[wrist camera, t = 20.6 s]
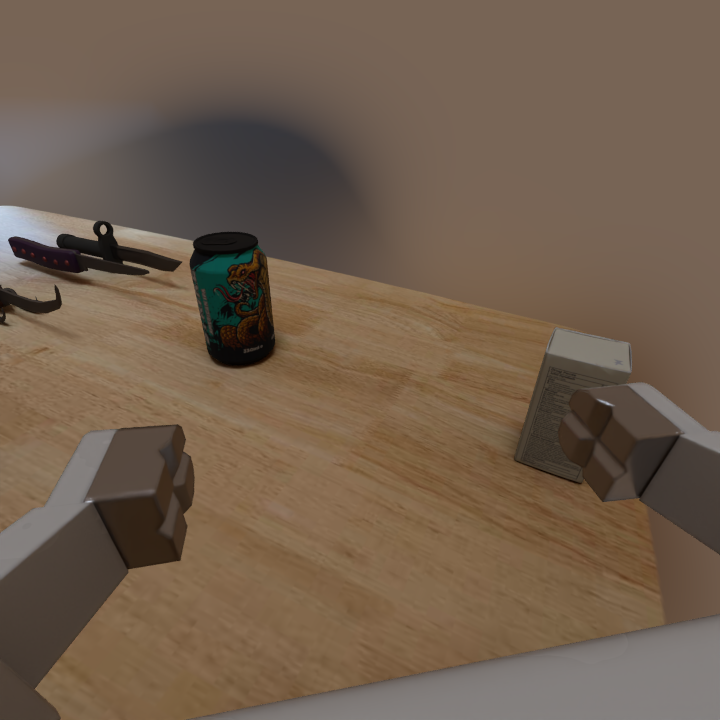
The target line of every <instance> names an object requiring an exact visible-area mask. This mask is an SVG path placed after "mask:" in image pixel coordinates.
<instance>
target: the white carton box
mask: <svg viewBox="0 0 720 720" xmlns="http://www.w3.org/2000/svg"><path fill="white" fill-rule="evenodd" d="M631 371H632V353H631V347H630V344H629V343H627V342H622V341H617V340H613V339H608V338H603V337H599V336H595V335H590V334H585V333H581V332H576V331H572V330H566V329H560V328H557V327H556V328H555V329H554V331H553V333H552V335H551V338H550V340H549V343H548V345H547V348H546V352H545V355H544V358H543V361H542V365H541V368H540V371H539V375H538V378H537V381H536V385H535V388H534V391H533V395H532V398H531V402H530V405H529V409H528V412H527V416H526V419H525V422H524V426H523V429H522V433H521V436H520V440H519V443H518V447H517V450H516V453H515V457H514V459H515V460H516V461H519V462H521V463H524V464H527V465H529V466H532V467H535V468H538V469H541V470H543V471H546V472H549V473H552V474H555V475H558V476H560V477H563V478H567V479H570V480H573V481H576V482H579V483H582V482H583V480H584V478H583V477H582V467H580V466H578V465H577V464H575V463H573V462H571V461H570V460H569V459H568V458H567V456H566V455H565V454H564V452H563V451H562V448H561V446H560V444H559V437H558V429H559V426H560V423H561V420H562V419H563V418H564V417H565V416H566V415H567V414H568V413H569V412H570V411H571V409H570V407H569V404H568V403H569V401H570V398H571V396H572V394H573V393H574V392H575V391H577V390H578V389H584V388H594V387H604V386H615V385H621V384H626V383H627V381H628V379H629V376H630V374H631Z"/></svg>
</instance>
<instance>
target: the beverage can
mask: <svg viewBox="0 0 720 720" xmlns="http://www.w3.org/2000/svg"><path fill="white" fill-rule="evenodd" d="M257 244H258V240H257V238H256V237H255V236H253V235H251V234H248V233H242V232H241V233H240V232H220V233H212V234H208V235H204V236H201V237H199V238H197V239H196V240H195V241H194V242H193V246H194V248H195V250H194V252H193V254H192V256H191V259H190V269H191V274H192V278H193V283H194V288H195V293H196V297H197V302H198V307H199V311H200V316H201V321H202V326H203V330H204V335H205V340H206V345H207V349H208V352H209V354H210V355H211V356H212V357H213V358H215V359H217V360H218V361H220V362H222V363H225V364H229V365H246V364H251V363H254V362H257V361H259V360H261V359H263V358H264V357H266V356H267V355H268V354H269V352H270V351H271V350H272V349H273V347H274V345H275V335H274V326H273V316H272V306H271V296H270V286H269V277H268V267H267V258H266V256H265V254H264V253H263V251H262V250H261V249H260V247H259V246H258V245H257Z"/></svg>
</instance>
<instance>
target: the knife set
mask: <svg viewBox="0 0 720 720" xmlns="http://www.w3.org/2000/svg"><path fill="white" fill-rule="evenodd" d="M103 224H104V225H105V226H106V228H107V232H106V234H104V235H102V234H101V232H100V227H101V225H103ZM93 230H94V233H95V234H96V235H97V236H98V241H94V240H89V239H84V238H79V237H75V236H73V235H69V234H61V235H59V236H58V237H57V240H56V241H57V245H58V247H59V248H56V247H49V246H46V245H43V244H40V243H37V242H35V241H31V240H28V239H25V238H21V237H11V238H9V239H8V241H9V244H10V246H11V248H12V250H13V253H14V255H15V256H16V257H18V258H22V259H25V260H28V261H31V262H34V263H36V264H39V265H41V266H44V267H47V268H51V269H56V270H61V271H67V272H73V273H80V272H83V271H88V268H91V269H96V270H100V271H106V272H112V273H118V274H127V275H145V274H148V273H149V271H148V270H145V269H141V268H137V267H132V266H128V265H124V264H123V261H127V262H132V263H136V264H141V265H144V266H148V267H151V268H155V269H158V270H162V271H171V272H174V271H175V269H176V268H177V267H178V266H179V265H180V264H181V263H182V261H178V260H174V259H171V258H167V257H164V256H161V255H158V254H155V253H152V252H149V251H145V250H140V249H135V248H130V247H124V246H119V245H118V243H117V241H116V240H115V238H114V236H113V227H112V226H111V224H109V223H108V222H105V221H98V222H96V223H95V224H94V226H93ZM80 253H83V254H88V255H92V256H97V257H101V258H103V260H101V259H97V258H92V257H88V256H84V255H81V254H80ZM55 293H56V300H52V301H46V302H42V301H38V300H37V298H36V300H32V299H28V298H25V297H22V296H19V295H17V293H16V292H15V291H14V290H13V289H10V288H4V289H2V287H1V285H0V308H2V307H5V306H8V305H10V304H12V305H15V306H17V307H20V308H22V309H26V310H29V311H32V312H37V313H49V312H52V311H54V310H57V309H60V307H61V305H62V301H61V296H60V293H59V289H58V288H57V286H56V285H55ZM35 297H36V296H35ZM2 312H3V316H2V317H0V322H4V321H5V319H6V315H5V313H4V311H3V309H2Z"/></svg>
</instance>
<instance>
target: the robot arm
mask: <svg viewBox="0 0 720 720" xmlns="http://www.w3.org/2000/svg"><path fill="white" fill-rule="evenodd" d="M568 404H569V407H570V409H571V411H570V412H569V413H568V414H567V415H566V416H565V417H564V418H563V419H562V420H561V423H560V426H559V429H558V437H559V444H560V446H561V448H562V451H563V452H564V454H565V455H566V456H567V458H568V459H569V460H570V461H571V462H573V463H575V464H577V465H578V466H580V467H582V477H583V478H584V479H585V481H586V482H587V483H588V484H589V486H590V487H591V488H592V489H593V491H594V492H595V493H596V494H597V496H598V497H599V498H600V500H601V501H602V502H607V501H616V500H626V499H635V498H640V499H639V500H640V501H641V502H643V503H644V504H646V505H647V506H649V507H650V508H652V509H653V510H655V511H656V512H658V513H659V514H660V515H662V516H664V517H665V518H666V519H668V520H669V521H671V522H672V523H674V524H675V525H677V526H678V527H680V528H681V529H683V530H684V531H685V532H687V533H688V534H690V535H692V536H693V537H694V538H696V539H697V540H699V541H700V542H702V543H703V544H705V545H706V546H708V547H709V548H711V549H712V550H714V551H715V552H717V553H718V554H719V555H720V433H719V432H717V431H712V432H710V431H708V430H707V429H706V428H705V427H703V426H702V425H701V424H699V423H698V422H697V421H696V420H694V419H693V418H692V417H690V416H689V415H688V414H687V413H686V412H684V411H683V410H682V409H680V408H679V407H678V406H677V405H675V404H674V403H673V402H672V401H670V400H669V399H668V398H666V397H665V396H664V395H663V394H661V393H660V392H659V391H658V390H656V389H655V388H654V387H653V386H651V385H649V384H646V383H643V382H639V383H631V384H621V385H615V386H604V387H594V388H584V389H578V390H577V391H575V392H574V393H573V394H572V396H571V398H570V401H569V403H568ZM185 441H186V439H185V436H184V432H183V429H182V427H181V426H179V425H178V424H177V425H162V426H147V427H132V428H121V429H110V430H95V431H90V432H88V433H87V434H85V435H84V436H83V437H82V439H81V441H80V443H79V445H78V446H77V448H76V450H75V452H74V453H73V455H72V457H71V459H70V461H69V462H68V464H67V466H66V468H65V470H64V471H63V473H62V475H61V477H60V479H59V480H58V482H57V484H56V486H55V488H54V489H53V491H52V493H51V495H50V497H49V498H48V500H47V502H46V504H45V506H44V507H41V508H34V509H32V510H31V511H29V512H28V513H27V514H25V515H24V516H22V517H21V518H20V519H18V520H17V521H16V522H14V523H13V524H12V525H10V526H9V527H8V528H6V529H5V530H4V531H2V532H1V533H0V720H60V719H61V717H60V715H59V713H58V712H57V710H56V708H55V707H54V706H52V705H51V704H50V703H49V702H48V701H47V700H46V699H45V698H44V697H43V696H41V695H40V694H39V693H38V692H37V691H36V690H35V688H36V686H37V685H38V684H39V683H40V681H41V680H42V679H43V678H44V676H45V675H46V674H47V673H48V672H49V670H50V669H51V668H52V667H53V665H54V664H55V663H56V662H57V660H58V659H59V658H60V657H61V655H62V654H63V653H64V652H65V650H66V649H67V648H68V647H69V645H70V644H71V643H72V642H73V641H74V639H75V638H76V637H77V636H78V634H79V633H80V632H81V631H82V629H83V628H84V627H85V626H86V624H87V623H88V622H89V621H90V619H91V618H92V617H93V616H94V615H95V613H96V612H97V611H98V610H99V608H100V607H101V606H102V605H103V603H104V602H105V601H106V600H107V598H108V597H109V596H110V595H111V593H112V592H113V591H114V590H115V588H116V587H117V586H118V585H119V584H120V582H121V581H122V580H123V579H124V577H125V576H126V575H127V574H128V569H133V568H139V567H145V566H151V565H157V564H163V563H169V562H175V561H180V560H181V555H182V550H183V545H184V541H185V536H186V531H187V524H186V521H185V518H184V515H183V514H184V513H185V512H186V511H187V510H188V509H189V508H190V507H191V506H192V501H193V495H194V478H195V477H194V469H193V463H192V460H191V456H189V455H188V454H186V453H185V452H183V449H184V445H185ZM186 720H720V614H717V615H712V616H707V617H702V618H697V619H692V620H687V621H682V622H677V623H672V624H667V625H661V626H656V627H651V628H646V629H641V630H636V631H631V632H626V633H621V634H616V635H611V636H606V637H601V638H596V639H591V640H586V641H581V642H575V643H570V644H565V645H560V646H555V647H550V648H545V649H540V650H535V651H530V652H525V653H520V654H515V655H510V656H505V657H500V658H494V659H489V660H484V661H479V662H474V663H469V664H464V665H459V666H454V667H449V668H444V669H439V670H434V671H429V672H424V673H419V674H414V675H408V676H403V677H398V678H393V679H388V680H383V681H378V682H373V683H368V684H363V685H358V686H353V687H348V688H343V689H338V690H333V691H328V692H323V693H318V694H313V695H308V696H302V697H297V698H292V699H287V700H282V701H277V702H272V703H267V704H262V705H257V706H252V707H247V708H242V709H237V710H232V711H227V712H222V713H217V714H212V715H207V716H202V717H196V718H191V719H186Z"/></svg>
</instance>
